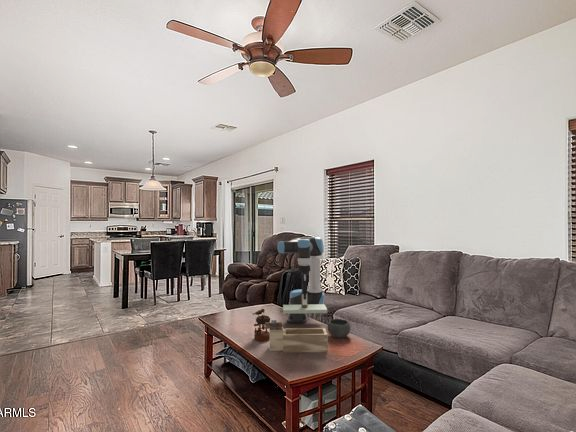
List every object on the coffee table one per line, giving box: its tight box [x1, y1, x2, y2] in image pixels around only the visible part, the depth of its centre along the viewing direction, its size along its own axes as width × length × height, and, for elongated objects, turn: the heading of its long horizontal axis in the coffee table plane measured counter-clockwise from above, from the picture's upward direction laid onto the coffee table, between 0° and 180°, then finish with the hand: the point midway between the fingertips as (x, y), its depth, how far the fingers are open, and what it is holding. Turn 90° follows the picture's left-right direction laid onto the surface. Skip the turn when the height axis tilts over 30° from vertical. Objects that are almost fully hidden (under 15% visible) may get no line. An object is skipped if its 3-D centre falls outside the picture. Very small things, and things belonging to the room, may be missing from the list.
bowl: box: [327, 318, 351, 339], centre depth 211 cm, size 15×15×10 cm
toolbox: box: [269, 319, 329, 354], centre depth 192 cm, size 12×34×16 cm, turn 91°
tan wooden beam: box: [264, 321, 283, 330], centre depth 192 cm, size 2×10×3 cm, turn 91°
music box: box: [252, 308, 271, 343], centre depth 209 cm, size 15×11×20 cm
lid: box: [282, 292, 328, 315], centre depth 193 cm, size 12×26×11 cm, turn 91°
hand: (304, 303), depth 193 cm, fingers closed on lid, 4 cm apart
